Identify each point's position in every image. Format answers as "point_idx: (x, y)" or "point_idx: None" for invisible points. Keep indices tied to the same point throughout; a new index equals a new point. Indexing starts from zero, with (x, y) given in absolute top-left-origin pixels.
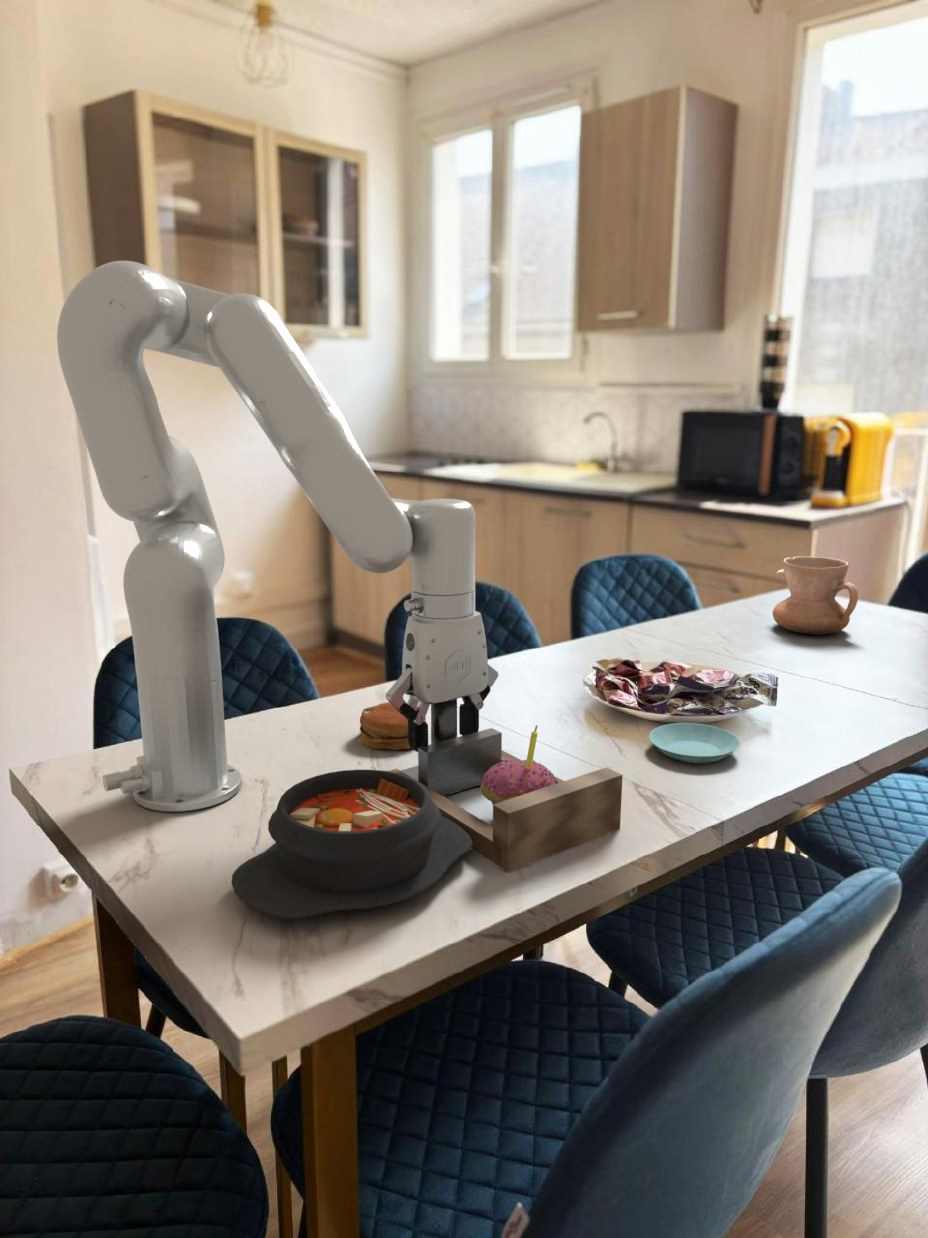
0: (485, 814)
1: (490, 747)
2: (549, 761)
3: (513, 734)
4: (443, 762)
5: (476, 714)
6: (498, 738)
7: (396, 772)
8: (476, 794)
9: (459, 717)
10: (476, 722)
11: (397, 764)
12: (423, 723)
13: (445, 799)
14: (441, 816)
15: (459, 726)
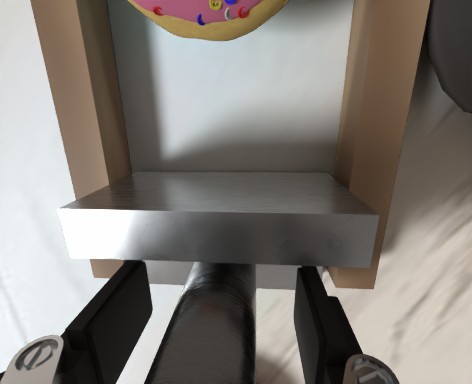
0: (262, 49)
1: (126, 195)
2: (9, 185)
3: (21, 309)
4: (300, 195)
5: (84, 318)
6: (83, 202)
7: (351, 272)
8: (218, 147)
9: (130, 354)
10: (104, 294)
11: (263, 329)
12: (340, 354)
13: (370, 75)
14: (440, 2)
15: (143, 329)
